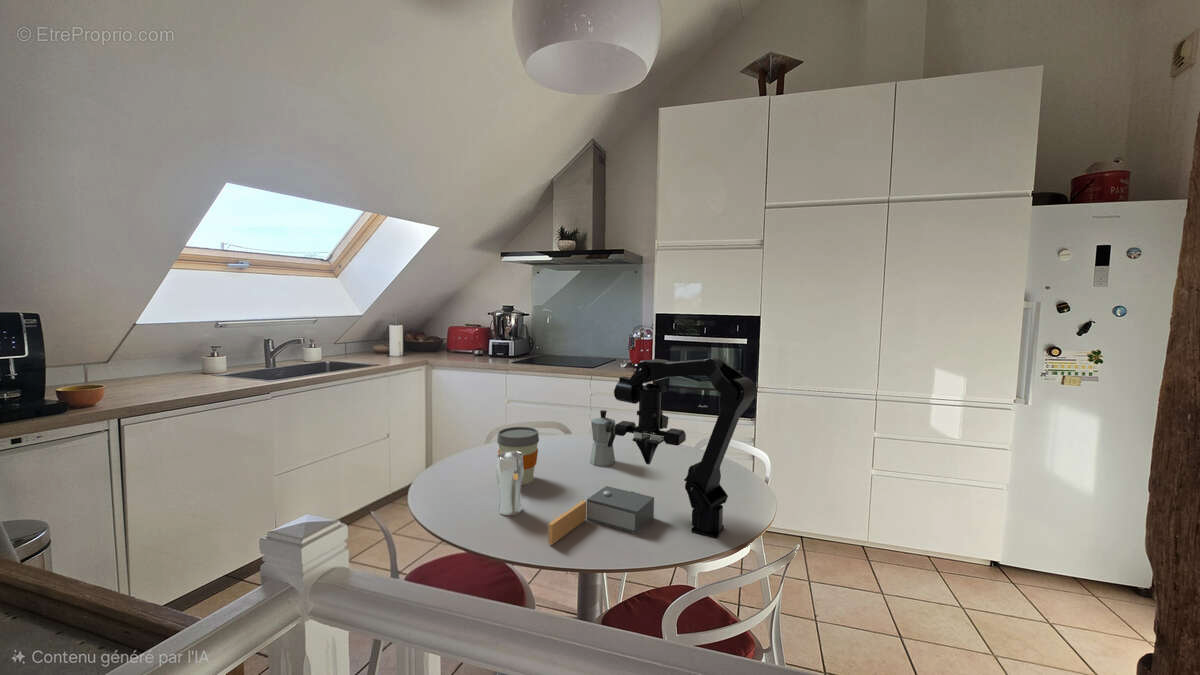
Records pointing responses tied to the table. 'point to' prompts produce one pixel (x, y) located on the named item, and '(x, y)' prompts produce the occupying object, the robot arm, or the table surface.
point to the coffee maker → (603, 441)
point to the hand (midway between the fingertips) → (648, 463)
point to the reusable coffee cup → (521, 447)
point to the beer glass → (510, 481)
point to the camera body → (620, 509)
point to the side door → (566, 522)
